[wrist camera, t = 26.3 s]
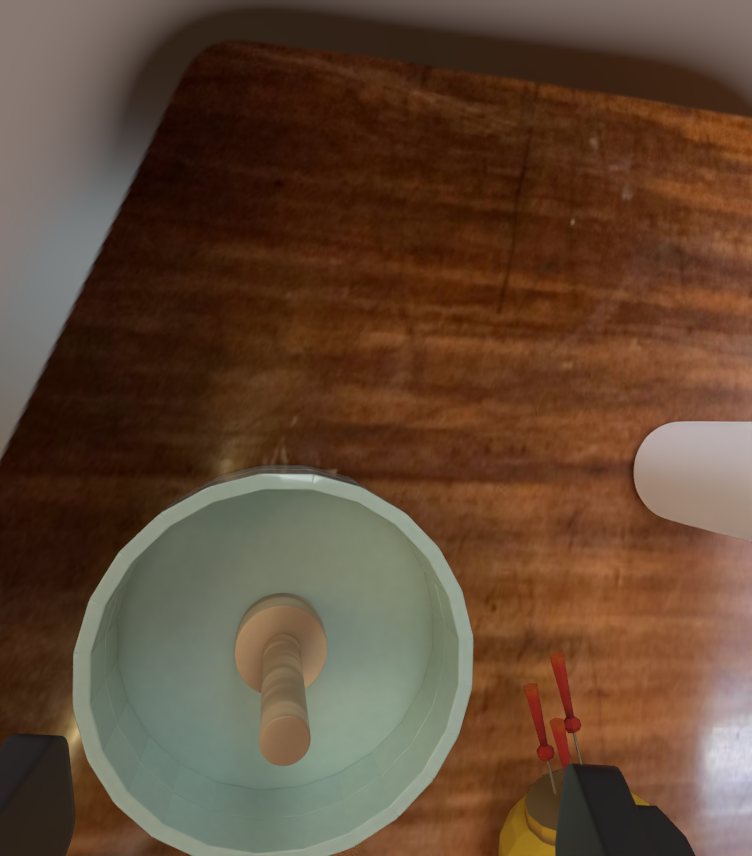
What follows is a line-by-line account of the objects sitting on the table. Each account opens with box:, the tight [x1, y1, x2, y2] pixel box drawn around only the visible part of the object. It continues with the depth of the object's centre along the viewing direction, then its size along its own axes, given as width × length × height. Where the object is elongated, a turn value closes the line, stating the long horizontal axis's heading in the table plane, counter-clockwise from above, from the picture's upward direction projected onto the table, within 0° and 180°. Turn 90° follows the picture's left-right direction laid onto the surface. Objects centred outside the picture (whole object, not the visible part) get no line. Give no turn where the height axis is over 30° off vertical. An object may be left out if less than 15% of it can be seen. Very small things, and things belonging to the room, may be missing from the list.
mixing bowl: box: [72, 465, 473, 856], centre depth 34 cm, size 20×20×6 cm
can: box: [634, 421, 752, 542], centre depth 35 cm, size 6×6×12 cm
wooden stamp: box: [234, 593, 328, 766], centre depth 30 cm, size 5×5×12 cm
